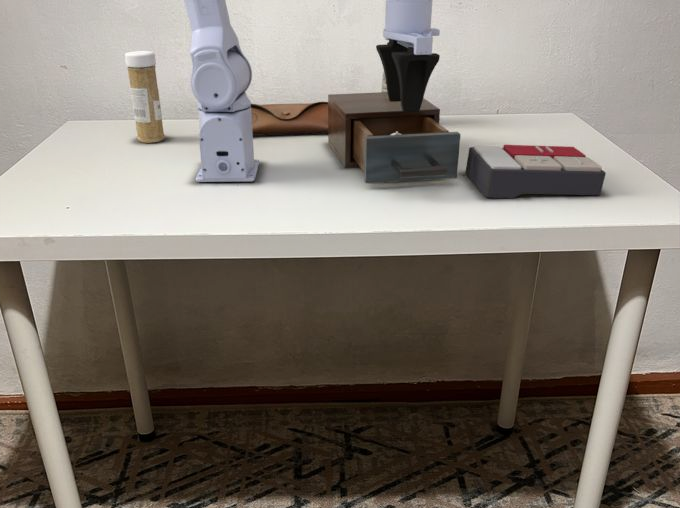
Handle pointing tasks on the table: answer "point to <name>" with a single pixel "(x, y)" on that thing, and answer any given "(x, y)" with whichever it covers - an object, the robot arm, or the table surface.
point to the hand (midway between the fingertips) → (403, 106)
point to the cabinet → (361, 107)
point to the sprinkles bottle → (145, 96)
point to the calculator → (533, 171)
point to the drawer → (404, 149)
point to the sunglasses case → (290, 119)
